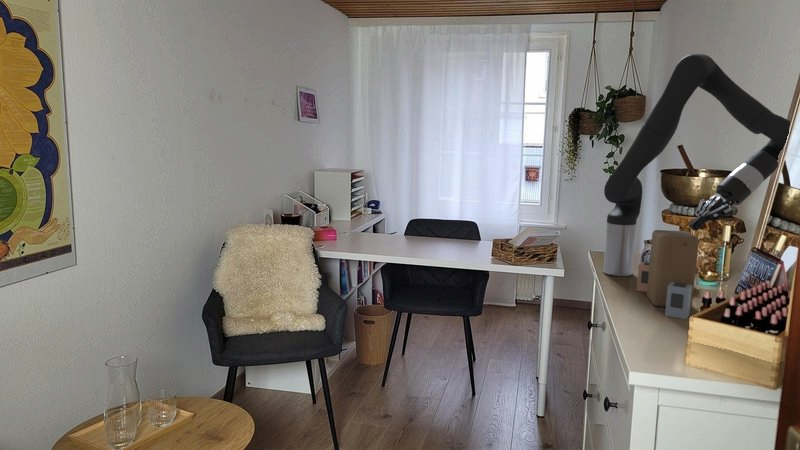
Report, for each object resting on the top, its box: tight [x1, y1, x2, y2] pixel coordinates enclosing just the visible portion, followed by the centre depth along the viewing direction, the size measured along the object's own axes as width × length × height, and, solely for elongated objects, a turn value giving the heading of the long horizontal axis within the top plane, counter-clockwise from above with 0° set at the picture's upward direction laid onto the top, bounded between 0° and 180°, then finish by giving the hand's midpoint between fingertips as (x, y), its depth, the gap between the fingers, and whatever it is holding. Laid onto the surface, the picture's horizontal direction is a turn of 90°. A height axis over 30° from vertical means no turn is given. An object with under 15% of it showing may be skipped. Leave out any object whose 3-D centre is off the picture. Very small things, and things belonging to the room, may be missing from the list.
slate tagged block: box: [664, 282, 692, 320], centre depth 150 cm, size 5×5×8 cm
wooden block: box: [646, 229, 700, 309], centre depth 160 cm, size 10×10×20 cm
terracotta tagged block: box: [636, 261, 650, 293], centre depth 174 cm, size 5×5×8 cm
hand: (692, 228), depth 158 cm, fingers closed
